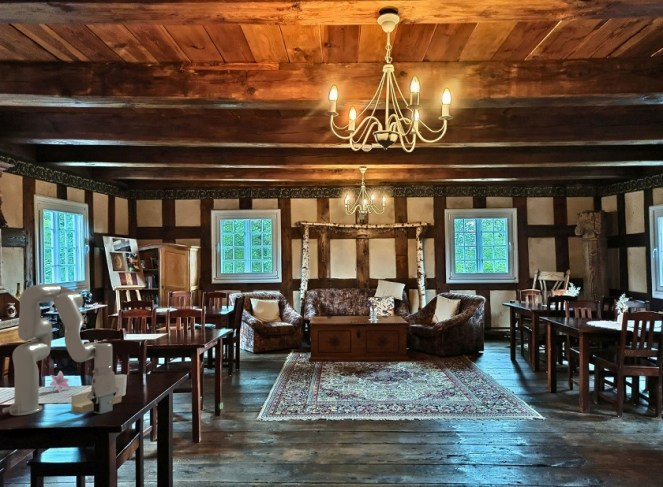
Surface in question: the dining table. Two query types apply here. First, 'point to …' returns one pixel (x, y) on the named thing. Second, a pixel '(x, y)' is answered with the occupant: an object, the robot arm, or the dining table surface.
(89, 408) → the cleat board
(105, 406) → the cabinet
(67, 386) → the lily
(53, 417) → the dining table surface
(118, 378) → the white cup
